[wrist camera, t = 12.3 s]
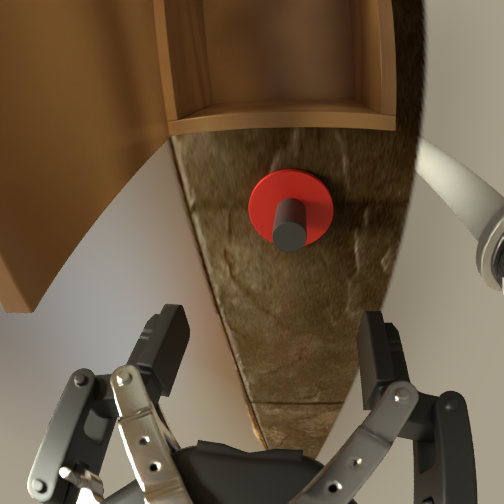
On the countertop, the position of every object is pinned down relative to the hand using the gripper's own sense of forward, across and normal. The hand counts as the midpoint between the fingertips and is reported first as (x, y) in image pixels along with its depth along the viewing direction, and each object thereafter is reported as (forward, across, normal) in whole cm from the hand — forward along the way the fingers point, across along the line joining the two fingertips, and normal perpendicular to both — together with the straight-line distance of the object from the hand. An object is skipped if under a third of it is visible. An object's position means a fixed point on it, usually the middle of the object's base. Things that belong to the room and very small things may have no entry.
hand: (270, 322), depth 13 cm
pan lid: (+13, 0, +1) cm, 13 cm away
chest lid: (-1, +4, -15) cm, 16 cm away
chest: (+13, 0, -15) cm, 20 cm away
